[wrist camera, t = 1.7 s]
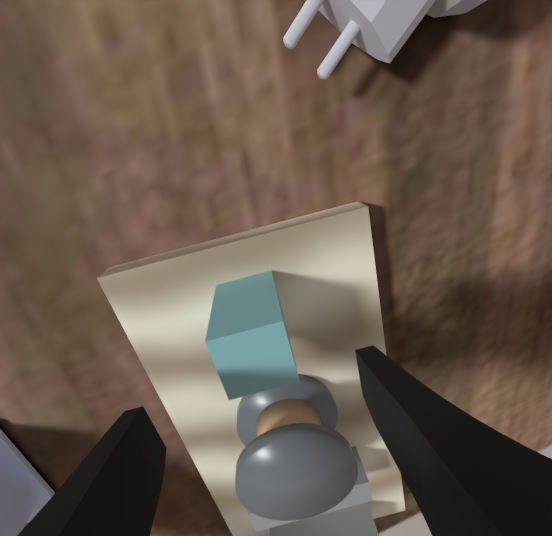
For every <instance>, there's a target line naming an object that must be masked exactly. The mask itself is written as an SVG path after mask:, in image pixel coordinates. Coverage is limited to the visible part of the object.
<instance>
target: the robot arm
mask: <svg viewBox="0 0 552 536" xmlns="http://www.w3.org/2000/svg"><path fill="white" fill-rule="evenodd" d="M355 354H356V359H357V365H358V371H359V377H360V383H361V389H362V394H363V398H364V400H365V402H366V405H367V407H368V410H369V412H370V415H371V417H372V419H373V422H374V424H375V426H376V428H377V430H378V432H379V434H380V436H381V438H382V439H383V441H384V443H385V445H386V447H387V449H388V450H389V452H390V454H391V456H392V458H393V460H394V462H395V463H396V465H397V467H398V469H399V471H400V473H401V474H402V476H403V478H404V480H405V482H406V484H407V485H408V487H409V489H410V491H411V493H412V495H413V496H414V498H415V500H416V502H417V504H418V506H419V508H420V510H421V512H422V514H423V516H424V518H425V520H426V522H427V525H428V527H429V529H430V531H431V534H432V536H552V459H550V458H548V457H546V456H544V455H541V454H540V453H538V452H536V451H534V450H532V449H529V448H527V447H526V446H524V445H522V444H520V443H518V442H516V441H514V440H513V439H511V438H509V437H507V436H505V435H503V434H501V433H500V432H498V431H496V430H494V429H493V428H491V427H489V426H487V425H486V424H484V423H482V422H480V421H479V420H477V419H475V418H474V417H472V416H470V415H469V414H467V413H466V412H464V411H462V410H461V409H459V408H458V407H456V406H455V405H453V404H452V403H450V402H449V401H447V400H446V399H444V398H442V397H441V396H440V395H438V394H437V393H435V392H434V391H432V390H431V389H429V388H428V387H427V386H425V385H424V384H423V383H421V382H420V381H418V380H417V379H416V378H414V377H413V376H412V375H410V374H409V373H408V372H406V371H405V370H404V369H402V368H401V367H400V366H399V365H397V364H396V363H395V362H394V361H392V360H391V359H390V358H389V357H387V356H386V355H385V354H384V353H383V352H381V351H380V350H379V349H378V348H377V347H375V346H373V345H372V346H368V347H364V348H361V349H357V350H355ZM165 457H166V446H165V445H164V443H163V441H162V439H161V438H160V436H159V434H158V432H157V430H156V429H155V427H154V425H153V423H152V422H151V420H150V418H149V416H148V415H147V413H146V411H145V409H144V407H143V406H142V407H139V408H135V409H131V410H127V411H125V412H124V413H123V414H122V415H121V416H120V417H119V418H118V419H117V421H116V422H115V423H114V424H113V425H112V427H111V428H110V429H109V430H108V431H107V432H106V434H105V435H104V436H103V437H102V439H101V440H100V441H99V442H98V443H97V445H96V446H95V447H94V448H93V449H92V451H91V452H90V453H89V454H88V455H87V457H86V458H85V459H84V460H83V461H82V463H81V464H80V465H79V466H78V467H77V469H76V470H75V471H74V472H73V473H72V475H71V476H70V477H69V478H68V479H67V480H66V482H65V483H64V484H63V485H62V486H61V487H60V488H59V490H58V491H57V492H56V493H55V492H54V491H53V490H52V489H51V488H50V486H49V485H48V484H47V483H46V482H45V480H44V479H43V478H42V477H41V476H40V475H39V473H38V472H37V471H36V470H35V469H34V468H33V466H32V465H31V464H30V463H29V462H28V461H27V459H26V458H25V457H24V456H23V455H22V454H21V452H20V451H19V450H18V449H17V448H16V447H15V445H14V444H13V443H12V442H11V441H10V439H9V438H8V437H7V436H6V435H5V434H4V432H3V431H2V430H1V429H0V536H150V532H151V528H152V524H153V520H154V516H155V512H156V507H157V503H158V499H159V495H160V490H161V486H162V481H163V473H164V466H165ZM26 523H28V524H27V526H26V527H25V528H24V526H25V524H26ZM23 528H24V529H23ZM22 529H23V530H22Z"/></svg>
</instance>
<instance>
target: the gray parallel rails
mask: <svg viewBox="0 0 552 536" xmlns="http://www.w3.org/2000/svg"><path fill="white" fill-rule="evenodd" d="M351 449H352V452H353V454H354V457H355V460H356V463H357V467H358V476H357V480H356V483H355V485H354V487H353V489H352V490H351V492H350V493H349V494H348V496H347V497H346V498H345V499H344V500H343V501H341V502H340V503H339V504H337V505H336V506H335V507H333V508H331V509H330V510H328V511H326V512H324V513H321V514H319V515H316V516H313V517H310V518H305V519H300V520H291V521H279V520H272V519H267V518H263V517H260V516H258V515H256V514H254V513H252V512H250V511H249V510H248V516H249V518H250V521H251V523H252V525H253V527H254V529H255V531H256V532H257V531H261V530H265V529H268V528H269V531H270V536H379V534H378V531H377V528H376V525H375V523H374V520H373V517H372V514H371V511H370V508H369V505H368V503H367V502H369V501H373V500H372V494H371V489H370V484H369V480H368V478H367V475H366V472H365V470H364V467H363V464H362V462H361V459H360V456H359V454H358V451H357V448H356V446H353V447H351Z"/></svg>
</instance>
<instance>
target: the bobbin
mask: <svg viewBox="0 0 552 536" xmlns="http://www.w3.org/2000/svg"><path fill="white" fill-rule="evenodd" d="M298 376H299V380H300V382H296V383H292V384H288V385H285V386H281V387H277V388H273V389H270V390H266V391H262V392H258V393H255V394H251V395H247V396H243V397H242V399H241V401H240V403H239V405H238V409H237V432H238V436H239V438H240V440H241V441H242V443H243V444H244V445H245V446H246V447H245V448H244V449H243V451H242V452H241V454H240V456H239V458H238V460H237V464H236V474H235V490H236V494H237V497H238V499H239V501H240V503H241V504H242V505H243V506H244V507H245V508H246V509H247V510H249V511H250V512H252V513H254V514H256V515H258V516H260V517H263V518H267V519H272V520H279V521H291V520H300V519H305V518H310V517H313V516H316V515H319V514H321V513H324V512H326V511H328V510H330V509H331V508H333V507H335V506H336V505H337V504H339V503H340V502H341V501H343V500H344V499H345V498H346V497H347V496H348V494H349V493H350V492H351V490H352V489H353V487H354V485H355V483H356V480H357V476H358V467H357V463H356V460H355V457H354V454H353V452H352V449H351V446H350V444H349V443H348V441H347V440H346V439H345V437H344V436H342V435H341V434H340V433H339V432H337V431H335V427H336V425H337V421H338V411H337V407H336V404H335V402H334V399H333V396H332V394H331V392H330V390H329V389H328V388H327V387H326V386H325V385H324V384H323V383H322V382H320V381H319V380H317V379H315V378H313V377H310V376H307V375H303V374H298Z"/></svg>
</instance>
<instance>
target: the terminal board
mask: <svg viewBox="0 0 552 536" xmlns="http://www.w3.org/2000/svg"><path fill="white" fill-rule="evenodd" d="M270 270H272V274H273V278H274V282H275V285H276V289H277V293H278V296H279V300H280V304H281V307H282V311H283V315H284V318H285V322H286V327H287V331H288V335H289V339H290V343H291V347H292V351H293V356H294V360H295V364H296V368H297V372H298V374H303V375H307V376H310V377H313V378H315V379H317V380H319V381H320V382H322V383H323V384H324V385H325V386H326V387H327V388H328V389H329V390H330V392H331V394H332V396H333V399H334V402H335V404H336V407H337V411H338V421H337V425H336V427H335V431H337V432H339V433H340V434H341V435H342V436H344V437H345V439H346V440H347V441H348V443H349V444H350V446H351V447H353V446H356V448H357V451H358V454H359V456H360V459H361V462H362V464H363V467H364V470H365V472H366V475H367V478H368V480H369V484H370V489H371V494H372V500H373V501H369V502H367V503H368V505H369V508H370V511H371V514H372V517H373V519H375V518H379V517H383V516H386V515H390V514H394V513H398V512H401V511H405V503H404V495H403V486H402V478H401V473H400V471H399V469H398V467H397V465H396V463H395V462H394V460H393V458H392V456H391V454H390V452H389V450H388V449H387V447H386V445H385V443H384V441H383V439H382V438H381V436H380V434H379V432H378V430H377V428H376V426H375V424H374V422H373V419H372V417H371V415H370V412H369V410H368V407H367V405H366V402H365V400H364V398H363V394H362V389H361V383H360V377H359V371H358V365H357V359H356V354H355V350H357V349H361V348H364V347H368V346H372V345H373V346H375V347H377V348H378V349H379V350H380V351H381V352H383V353H384V354H385V355H386V348H385V340H384V331H383V323H382V315H381V307H380V299H379V291H378V282H377V274H376V266H375V258H374V250H373V242H372V234H371V225H370V217H369V209H368V206H366V205H364V204H362V203H360V202H358V201H357V202H353V203H349V204H346V205H342V206H338V207H334V208H331V209H327V210H323V211H319V212H315V213H312V214H308V215H304V216H300V217H297V218H293V219H289V220H285V221H282V222H278V223H274V224H270V225H266V226H263V227H259V228H255V229H251V230H248V231H244V232H240V233H236V234H233V235H229V236H225V237H221V238H218V239H214V240H210V241H206V242H202V243H199V244H195V245H191V246H187V247H184V248H180V249H176V250H172V251H169V252H165V253H161V254H157V255H153V256H150V257H146V258H142V259H138V260H135V261H131V262H127V263H123V264H120V265H116V266H112V267H109V268H108V269H107V270H106V271H104V272H103V273H102V274H101V275H100V276H99V277H98V278H97V280H98V281H99V283H100V285H101V287H102V289H103V291H104V293H105V295H106V297H107V298H108V300H109V302H110V304H111V306H112V308H113V310H114V312H115V314H116V315H117V317H118V319H119V321H120V323H121V325H122V327H123V329H124V331H125V333H126V334H127V336H128V338H129V340H130V342H131V344H132V346H133V348H134V350H135V351H136V353H137V355H138V357H139V359H140V361H141V363H142V365H143V367H144V369H145V370H146V372H147V374H148V376H149V378H150V380H151V382H152V384H153V386H154V387H155V389H156V391H157V393H158V395H159V397H160V399H161V401H162V403H163V404H164V406H165V408H166V410H167V412H168V414H169V416H170V418H171V420H172V422H173V423H174V425H175V427H176V429H177V431H178V433H179V435H180V437H181V439H182V440H183V442H184V444H185V446H186V448H187V450H188V452H189V454H190V456H191V458H192V459H193V461H194V463H195V465H196V467H197V469H198V471H199V473H200V475H201V476H202V478H203V480H204V482H205V484H206V486H207V488H208V490H209V492H210V494H211V495H212V497H213V499H214V501H215V503H216V505H217V507H218V509H219V511H220V512H221V514H222V516H223V518H224V520H225V522H226V524H227V526H228V528H229V529H230V531H231V533H232V535H233V536H270V531H269V528H268V529H265V530H261V531H257V532H256V531H255V529H254V527H253V525H252V523H251V521H250V518H249V516H248V510H247V509H246V508H245V507H244V506H243V505H242V504H241V503H240V501H239V499H238V497H237V494H236V490H235V474H236V464H237V460H238V458H239V456H240V454H241V452H242V451H243V449H244V448H245V447H246V446H245V445H244V444H243V443H242V441H241V440H240V438H239V436H238V432H237V409H238V405H239V403H240V401H241V399H242V397H240V398H236V399H232V400H229V399H228V397H227V394H226V392H225V390H224V387H223V385H222V382H221V380H220V377H219V375H218V372H217V370H216V368H215V365H214V363H213V360H212V358H211V355H210V353H209V350H208V348H207V346H206V343H205V339H206V334H207V329H208V324H209V319H210V314H211V308H212V303H213V298H214V293H215V288H216V285H218V284H221V283H225V282H229V281H233V280H237V279H240V278H244V277H248V276H252V275H255V274H259V273H263V272H267V271H270Z"/></svg>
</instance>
